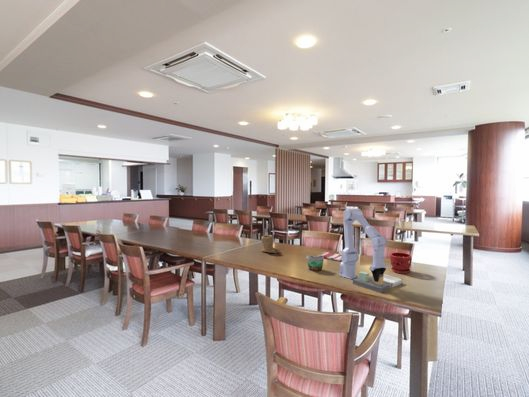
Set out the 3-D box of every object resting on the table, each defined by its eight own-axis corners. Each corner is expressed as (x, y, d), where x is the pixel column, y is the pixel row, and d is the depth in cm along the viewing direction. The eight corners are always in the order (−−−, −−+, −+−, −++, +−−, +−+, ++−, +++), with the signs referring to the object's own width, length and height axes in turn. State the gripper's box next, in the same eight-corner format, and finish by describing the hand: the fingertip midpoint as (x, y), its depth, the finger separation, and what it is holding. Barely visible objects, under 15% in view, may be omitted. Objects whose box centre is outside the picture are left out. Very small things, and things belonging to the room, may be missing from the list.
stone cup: (258, 252, 245) (258, 235, 244) (266, 249, 254) (266, 233, 254) (272, 255, 236) (272, 237, 235) (280, 252, 246) (280, 235, 245)
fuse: (358, 283, 169) (358, 272, 169) (361, 282, 171) (361, 271, 171) (366, 285, 165) (366, 274, 165) (368, 284, 167) (369, 273, 167)
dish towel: (344, 263, 214) (344, 259, 214) (317, 257, 229) (317, 254, 229) (353, 258, 227) (353, 255, 227) (327, 253, 242) (327, 250, 242)
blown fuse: (372, 285, 162) (372, 273, 162) (375, 284, 164) (375, 272, 164) (380, 288, 158) (380, 276, 158) (383, 286, 160) (383, 275, 160)
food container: (306, 271, 192) (306, 257, 192) (306, 268, 198) (306, 254, 198) (324, 272, 191) (324, 257, 190) (324, 269, 197) (324, 255, 196)
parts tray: (367, 280, 175) (368, 276, 175) (378, 276, 182) (378, 272, 182) (392, 287, 163) (392, 283, 163) (402, 283, 170) (402, 279, 170)
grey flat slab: (352, 283, 169) (352, 279, 169) (361, 280, 175) (361, 276, 174) (380, 293, 155) (380, 288, 155) (389, 289, 160) (389, 284, 160)
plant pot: (392, 267, 201) (393, 251, 201) (413, 271, 193) (413, 254, 192) (387, 272, 191) (387, 254, 191) (408, 276, 183) (409, 258, 182)
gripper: (378, 260, 153) (377, 285, 153) (391, 256, 161) (391, 279, 162) (366, 258, 158) (365, 281, 159) (380, 254, 167) (379, 276, 168)
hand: (377, 280), depth 161 cm, fingers closed on blown fuse, 3 cm apart
